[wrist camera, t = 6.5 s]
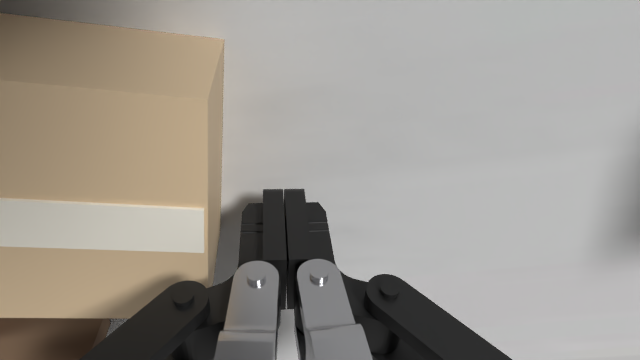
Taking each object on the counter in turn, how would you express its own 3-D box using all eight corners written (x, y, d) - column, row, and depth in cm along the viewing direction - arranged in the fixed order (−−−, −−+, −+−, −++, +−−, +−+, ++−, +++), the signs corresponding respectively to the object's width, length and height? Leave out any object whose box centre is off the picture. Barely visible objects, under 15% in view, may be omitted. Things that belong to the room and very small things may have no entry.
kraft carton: (225, 35, 14) (207, 101, 9) (221, 221, 18) (207, 321, 14) (-54, 2, 12) (-218, 61, 8) (17, 212, 17) (-65, 320, 13)
